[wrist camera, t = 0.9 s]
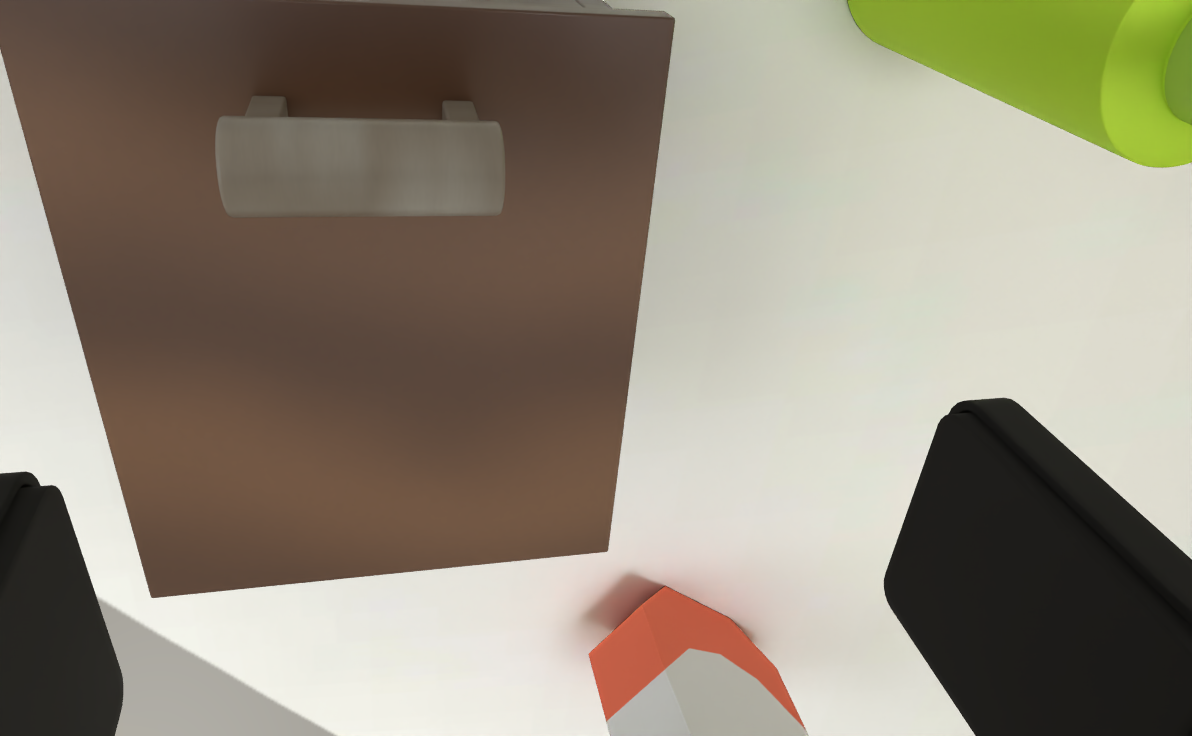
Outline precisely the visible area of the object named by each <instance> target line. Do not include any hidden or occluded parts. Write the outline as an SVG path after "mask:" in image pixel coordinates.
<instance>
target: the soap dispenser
mask: <svg viewBox="0 0 1192 736" xmlns="http://www.w3.org/2000/svg"><path fill="white" fill-rule="evenodd" d="M847 1H848V5H849V8H850V11H851V14H852V16H853V18H854V20H855V22H856V24H857V25H858V27H859V28H860V29H861V31H862V32H863V33H864V34H865V35H866V36H867V37H868V38H870V39H871V40H872V41H874V42H876V43H878V44H879V45H882V46H884V47H886V48H888V49H890V50H892V51H895V52H897V53H899V54H901V55H903V56H905V57H908V58H910V59H912V60H914V61H916V62H918V63H920V64H923V65H925V66H927V67H929V68H931V69H933V70H936V71H938V72H940V73H942V74H944V75H946V76H949V77H951V78H953V79H955V80H957V81H959V82H962V83H964V84H966V85H968V86H970V87H972V88H974V89H977V90H979V91H981V92H983V93H985V94H987V95H990V96H992V97H994V98H996V99H998V100H1000V101H1003V102H1005V103H1007V104H1009V105H1011V106H1013V107H1015V108H1018V109H1020V110H1022V111H1024V112H1026V113H1028V114H1031V115H1033V116H1035V117H1037V118H1039V119H1041V120H1044V121H1046V122H1048V123H1050V124H1052V125H1054V126H1057V127H1059V128H1061V129H1063V130H1065V131H1067V132H1069V133H1072V134H1074V135H1076V136H1078V137H1080V138H1082V139H1085V140H1087V141H1089V142H1091V143H1093V144H1095V145H1098V146H1100V147H1102V148H1104V149H1106V150H1108V151H1110V152H1113V153H1115V154H1117V155H1119V156H1121V157H1123V158H1126V159H1128V160H1130V161H1132V162H1134V163H1137V164H1140V165H1144V166H1148V167H1161V168H1163V167H1174V166H1180V165H1184V164H1188V163H1191V162H1192V0H847Z"/></svg>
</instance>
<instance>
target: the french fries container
mask: <svg viewBox="0 0 1192 736" xmlns="http://www.w3.org/2000/svg"><path fill="white" fill-rule="evenodd" d="M589 658H590V661H591V665H592V669H593V673H594V677H595V680H596V684H597V688H598V692H599V695H600V699H601V703H602V707H603V711H604V714H605V718H606V722H607V726H608V730H609V733H610V736H808V733H807V731H806V729H805V727H804V725H803V723H802V721H801V718H800V716H799V714H798V712H797V710H796V708H795V706H794V704H793V702H792V700H791V698H790V695H789V693H788V691H787V689H786V687H785V685H784V683H783V681H782V679H781V677H780V675H779V672H778V670H777V668H776V667H775V666H774V665H773V664H772V663H771V662H770V661H769V660H768V659H767V657H766V656H765V655H764V654H763V653H762V652H761V651H760V650H759V649H758V648H757V647H756V646H755V645H754V644H753V642H752V641H751V640H750V639H749V638H748V637H747V636H746V635H745V634H744V633H743V632H742V631H741V630H740V629H739V628H738V626H737V625H736V624H735V623H734V622H733V621H732V620H731V619H730V618H728V617H726V616H724V615H722V614H720V613H718V612H716V611H714V610H712V609H710V608H708V607H706V606H704V605H702V604H700V603H698V602H696V601H694V600H692V599H690V598H688V597H686V596H684V595H682V594H680V593H678V592H676V591H674V590H672V589H670V588H668V587H666V586H664V587H663V588H662V589H661V590H659V591H658V592H657V593H656V594H654V595H653V596H652V597H651V598H649V599H648V600H647V601H645V602H644V603H643V604H642V605H641V606H640V607H639V608H637V609H636V610H635V611H634V612H633V613H632V614H631V615H630V616H629V617H628V618H627V619H626V620H625V621H623V622H622V623H621V624H620V625H619V626H618V627H617V628H616V629H615V630H614V631H613V632H612V633H611V634H609V635H608V636H607V637H606V638H605V639H604V640H603V641H602V642H601V643H600V644H599V645H598V646H597V647H595V648H594V649H593V650H592V651H591V652H590V653H589Z"/></svg>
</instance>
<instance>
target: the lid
mask: <svg viewBox="0 0 1192 736" xmlns="http://www.w3.org/2000/svg"><path fill="white" fill-rule="evenodd" d="M674 24H675V19H674V18H673V17H672V16H671V15H669V14H668V13H666V12H664V11H647V10H627V9H608V8H588V7H568V6H548V5H529V4H509V3H489V2H469V1H449V0H0V50H1V53H2V57H3V60H4V64H5V68H6V71H7V75H8V79H9V82H10V86H11V90H12V93H13V97H14V101H15V104H16V108H17V111H18V115H19V119H20V122H21V126H22V130H23V133H24V137H25V141H26V144H27V148H28V151H29V155H30V159H31V162H32V166H33V170H34V173H35V177H36V181H37V184H38V188H39V191H40V195H41V199H42V202H43V206H44V210H45V213H46V217H47V221H48V224H49V228H50V232H51V235H52V239H53V242H54V246H55V250H56V253H57V257H58V261H59V264H60V268H61V272H62V275H63V279H64V282H65V286H66V290H67V293H68V297H69V301H70V304H71V308H72V312H73V315H74V319H75V322H76V326H77V330H78V333H79V337H80V341H81V344H82V348H83V352H84V355H85V359H86V363H87V366H88V370H89V373H90V377H91V381H92V384H93V388H94V392H95V395H96V399H97V403H98V406H99V410H100V413H101V417H102V421H103V424H104V428H105V432H106V435H107V439H108V443H109V446H110V450H111V454H112V457H113V461H114V464H115V468H116V472H117V475H118V479H119V483H120V486H121V490H122V494H123V497H124V501H125V504H126V508H127V512H128V515H129V519H130V523H131V526H132V530H133V534H134V537H135V541H136V544H137V548H138V552H139V555H140V559H141V563H142V566H143V570H144V574H145V577H146V581H147V585H148V588H149V592H150V595H151V598H158V597H167V596H177V595H187V594H197V593H207V592H216V591H226V590H236V589H246V588H256V587H266V586H275V585H285V584H295V583H305V582H315V581H324V580H334V579H344V578H354V577H364V576H373V575H383V574H393V573H403V572H413V571H423V570H432V569H442V568H452V567H462V566H472V565H481V564H491V563H501V562H511V561H521V560H530V559H540V558H550V557H560V556H570V555H580V554H589V553H599V552H607V551H608V546H609V538H610V530H611V522H612V514H613V506H614V498H615V491H616V483H617V475H618V467H619V459H620V451H621V443H622V435H623V427H624V419H625V411H626V404H627V396H628V388H629V380H630V372H631V364H632V356H633V348H634V340H635V332H636V324H637V317H638V309H639V301H640V293H641V285H642V277H643V269H644V261H645V253H646V245H647V237H648V230H649V222H650V214H651V206H652V198H653V190H654V182H655V174H656V166H657V158H658V150H659V143H660V135H661V127H662V119H663V111H664V103H665V95H666V87H667V79H668V71H669V63H670V56H671V48H672V40H673V32H674Z"/></svg>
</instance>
